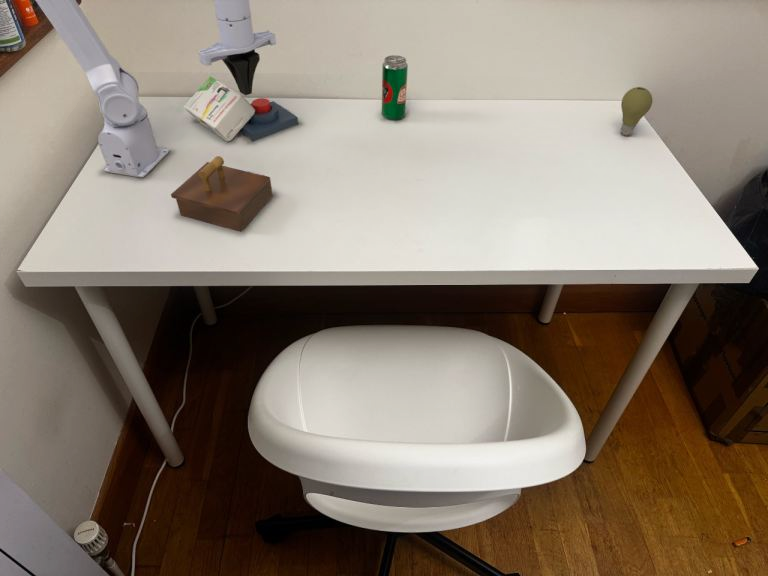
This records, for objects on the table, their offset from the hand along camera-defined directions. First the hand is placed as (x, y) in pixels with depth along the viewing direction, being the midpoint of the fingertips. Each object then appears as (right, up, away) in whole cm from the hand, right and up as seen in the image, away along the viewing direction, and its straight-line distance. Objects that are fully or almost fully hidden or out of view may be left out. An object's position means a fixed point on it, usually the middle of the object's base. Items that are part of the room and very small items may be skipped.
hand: (245, 92), depth 105 cm
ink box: (-11, +3, +11) cm, 16 cm away
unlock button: (+1, 0, +10) cm, 10 cm away
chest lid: (-1, -20, -10) cm, 22 cm away
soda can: (+28, +1, +16) cm, 32 cm away
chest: (-1, -22, -8) cm, 24 cm away
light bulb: (+75, -5, +12) cm, 77 cm away
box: (+1, -2, +12) cm, 12 cm away
